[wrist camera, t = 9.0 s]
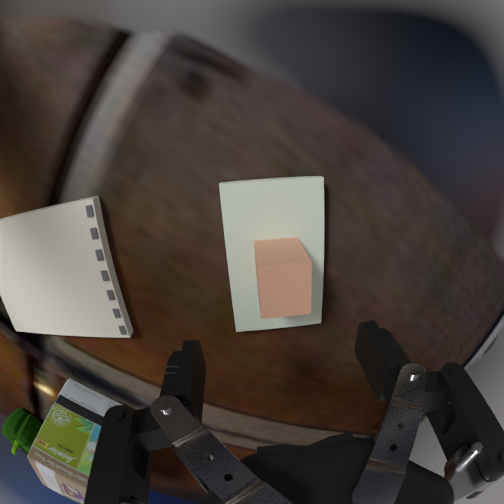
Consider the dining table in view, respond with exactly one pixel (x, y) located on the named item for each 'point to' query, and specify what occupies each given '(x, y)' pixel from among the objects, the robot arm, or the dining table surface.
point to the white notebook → (61, 272)
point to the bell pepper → (21, 429)
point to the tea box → (69, 440)
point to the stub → (274, 250)
